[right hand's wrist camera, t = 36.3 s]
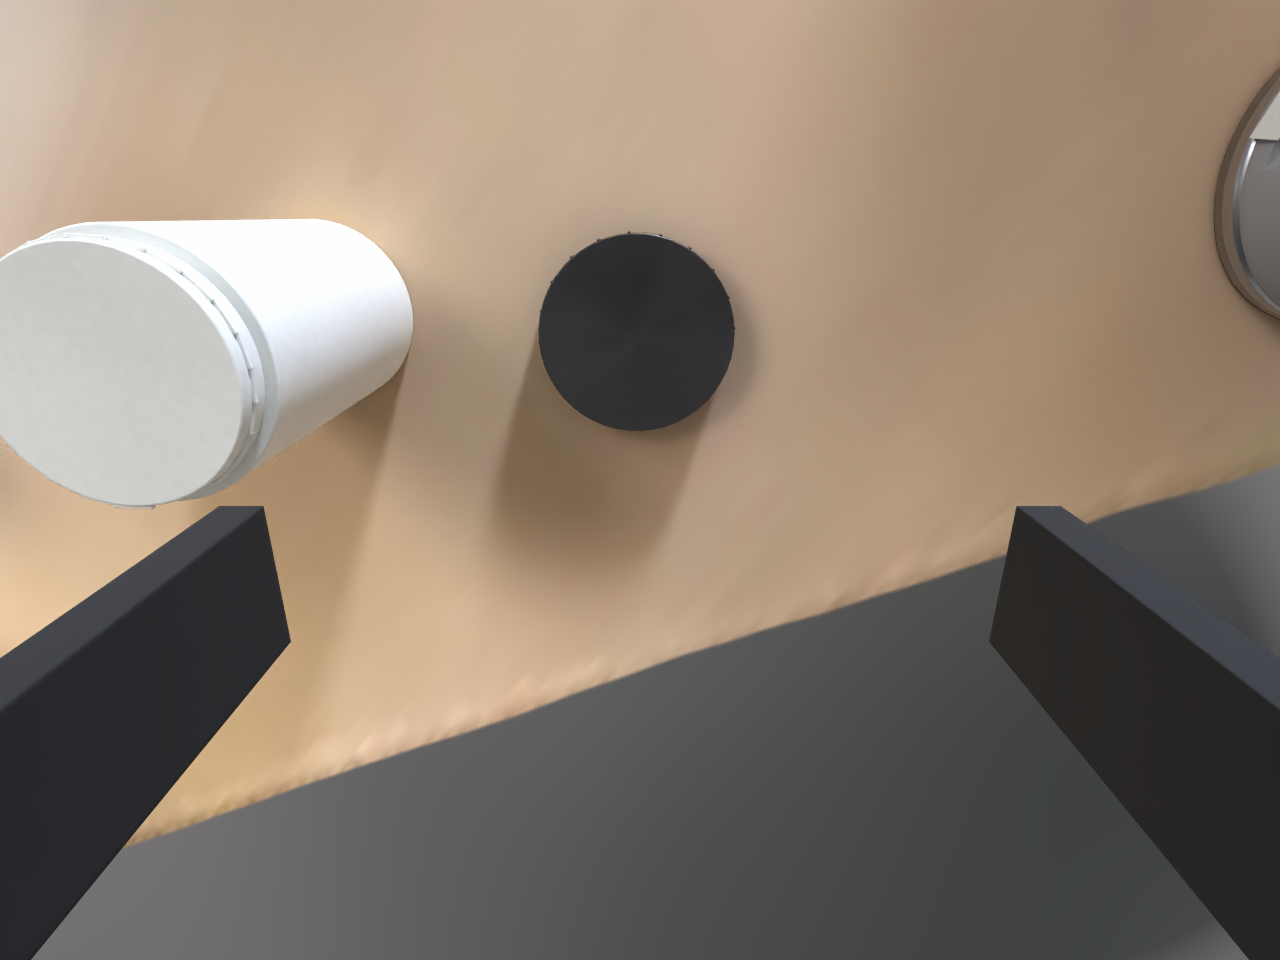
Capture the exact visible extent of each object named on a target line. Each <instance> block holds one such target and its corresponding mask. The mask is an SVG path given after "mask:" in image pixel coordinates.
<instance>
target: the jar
mask: <svg viewBox="0 0 1280 960" xmlns="http://www.w3.org/2000/svg"><path fill="white" fill-rule="evenodd" d="M412 333H413V313H412V305H411V301H410V297H409V294H408V291H407V289H406V286H405V283H404V281H403V279H402V278H401V276H400V274H399V272H398V270H397V269H396V267H395V266H394V264H393V263H392V262H391V260H390V259H389V258H388V257H387V256H386V254H385V253H384V252H383V251H382V250H381V249H380V248H379V247H377V246H376V245H375V244H374V243H373V242H372V241H370V240H369V239H368V238H366V237H365V236H363V235H362V234H360V233H358V232H356V231H355V230H353V229H351V228H349V227H346V226H344V225H341V224H338V223H334V222H331V221H326V220H319V219H279V220H206V221H132V222H87V223H80V224H74V225H69V226H66V227H63V228H60V229H57V230H54V231H51V232H50V233H48V234H46V235H44V236H42V237H40V238H38V239H36V240H33V241H27V242H26V243H24V244H23V245H21V246H19V247H18V248H16V249H15V250H13V251H12V252H10V253H9V254H7V255H6V256H4V257H2V258H1V259H0V436H1V437H2V438H3V439H4V441H5V442H6V443H7V444H8V445H9V446H10V447H11V448H12V449H13V450H14V451H15V452H16V453H17V455H19V456H20V457H21V458H22V459H24V460H25V461H26V462H27V463H28V464H29V465H31V466H32V467H33V468H35V469H36V470H37V471H39V472H40V473H42V474H43V475H44V476H46V477H47V478H48V480H50V481H52V482H54V483H56V484H58V485H60V486H62V487H64V488H66V489H68V490H70V491H72V492H74V493H76V494H78V495H80V496H81V497H82V498H86V499H90V500H94V501H97V502H101V503H105V504H108V505H112V506H116V508H140V509H154V508H155V505H160V504H166V503H170V502H174V501H184V500H191V499H198V498H201V497H205V496H209V495H212V494H215V493H217V492H219V491H222V490H224V489H226V488H228V487H230V486H231V485H233V484H235V483H236V482H238V481H239V480H241V479H242V478H244V477H245V476H247V475H248V474H250V473H251V472H253V471H254V470H256V469H257V468H259V467H261V466H262V465H264V464H265V463H267V462H268V461H270V460H271V459H273V458H274V457H276V456H277V455H279V454H280V453H282V452H283V451H285V450H286V449H288V448H289V447H291V446H292V445H294V444H295V443H297V442H298V441H300V440H301V439H303V438H304V437H306V436H307V435H309V434H310V433H312V432H313V431H315V430H316V429H318V428H319V427H321V426H322V425H324V424H325V423H327V422H328V421H330V420H331V419H333V418H334V417H336V416H337V415H339V414H340V413H342V412H343V411H345V410H346V409H348V408H349V407H351V406H352V405H354V404H355V403H357V402H358V401H360V400H361V399H363V398H364V397H366V396H367V395H369V394H370V393H372V392H373V391H375V390H377V389H378V388H380V387H381V386H383V385H384V384H385V383H386V382H387V381H389V380H390V379H391V378H392V377H393V376H394V375H395V373H396V372H397V371H398V370H399V368H400V367H401V365H402V364H403V362H404V360H405V358H406V356H407V353H408V351H409V348H410V344H411V340H412Z"/></svg>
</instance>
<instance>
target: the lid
mask: <svg viewBox="0 0 1280 960" xmlns="http://www.w3.org/2000/svg"><path fill="white" fill-rule="evenodd" d="M570 258H571V259H570V260H569V261H568V262H567V263H566V264H565V265H564V266H563V267H562V269H561V270H560V271H559V273H558V274H557V275H556V277H555V278H554V279H553V280H552V281H551V282H550V283H551V285H550V287H549V289H548V291H547V293H546V296H545V299H544V301H543V305H542V309H541V310H540V320H539V344H540V350H541V355H542V359H543V362H544V365H545V368H546V370H547V373H548V375H549V377H550V379H551V381H552V382H553V384H554V386H555V387H556V389H557V390H558V391H559V393H560V394H561V395H562V396H563V398H564V399H565V400H566V401H567V402H568V403H569V404H570V405H571V406H572V407H574V408H575V409H576V410H577V411H579V412H580V413H581V414H583V415H584V416H586V417H588V418H590V419H591V420H593V421H595V422H598V423H600V424H603V425H605V426H609V427H612V428H616V429H622V430H629V431H643V430H652V429H657V428H661V427H665V426H668V425H671V424H673V423H676V422H678V421H680V420H682V419H684V418H686V417H687V416H689V415H690V414H692V413H693V412H695V411H696V410H697V409H699V408H700V407H701V406H702V405H703V404H704V403H705V402H706V401H707V400H708V399H709V398H710V397H711V395H712V394H713V393H714V392H715V390H716V389H717V387H718V386H719V384H720V383H721V381H722V379H723V377H724V375H725V373H726V371H727V369H728V366H729V363H730V360H731V356H732V351H733V346H734V330H735V327H734V319H733V314H732V309H731V305H730V302H729V299H730V298H729V296H728V295H727V293H726V291H725V289H724V287H723V285H722V283H721V282H720V280H719V279H718V277H717V276H716V274H715V273H714V271H715V270H714V269H713V268H712V267H711V268H710V267H709V266H708V264H707V263H706V262H705V261H704V260H703V259H701V258H700V257H699V256H698V255H697V254H696V253H694V252H693V251H691V248H690V247H689V246H688V247H685V246H684V245H682V244H680V243H678V242H676V241H674V240H672V239H669V238H666V237H663V236H662V234H659V235H655V234H649V233H630V231H628V233H625V234H618V235H614V236H610V237H607V238H604V239H602V240H600V238H599V239H597V242H595V243H593V244H591V245H590V246H588V247H586V248H584V249H583V250H581V251H580V252H579V253H577V254H576V255H575V256H574V255H573V256H571V257H570Z"/></svg>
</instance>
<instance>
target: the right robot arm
mask: <svg viewBox="0 0 1280 960" xmlns="http://www.w3.org/2000/svg"><path fill="white" fill-rule="evenodd" d="M1214 230H1215V237H1216V244H1217V248H1218V252H1219V255H1220V258H1221V261H1222V263H1223V266H1224V268H1225V270H1226V272H1227V274H1228V276H1229V278H1230V280H1231V281H1232V282H1233V284H1234V285H1235V287H1236V288H1237V289H1238V291H1239V292H1240V293H1241V294H1242V295H1243V296H1244V297H1245V298H1246V299H1247V300H1248V301H1250V302H1251V303H1252V304H1253V305H1255V306H1256V307H1257V308H1259V309H1261V310H1262V311H1264V312H1265V313H1267V314H1270V315H1272V316H1274V317H1276V318H1279V319H1280V68H1279V69H1278V70H1277V71H1276V72H1275V73H1274V75H1273V76H1272V77H1271V78H1270V79H1269V80H1268V82H1267V83H1266V84H1265V85H1264V86H1263V88H1262V89H1261V91H1260V92H1259V93H1258V95H1257V96H1256V97H1255V99H1254V100H1253V102H1252V103H1251V105H1250V106H1249V108H1248V110H1247V111H1246V113H1245V114H1244V116H1243V118H1242V119H1241V121H1240V123H1239V125H1238V127H1237V129H1236V131H1235V133H1234V135H1233V137H1232V140H1231V142H1230V144H1229V147H1228V149H1227V151H1226V154H1225V157H1224V160H1223V163H1222V166H1221V170H1220V174H1219V178H1218V182H1217V188H1216V194H1215V203H1214ZM290 642H291V640H290V635H289V630H288V625H287V620H286V615H285V610H284V605H283V600H282V596H281V591H280V586H279V581H278V576H277V571H276V566H275V561H274V556H273V551H272V546H271V541H270V536H269V531H268V526H267V521H266V517H265V512H264V507H263V506H219V507H218V508H216V509H215V510H213V511H212V512H210V513H209V514H208V515H206V516H205V517H203V518H202V519H200V520H199V521H197V522H196V523H195V524H193V525H192V526H190V527H189V528H187V529H186V530H184V531H183V532H182V533H180V534H179V535H177V536H176V537H174V538H173V539H172V540H170V541H169V542H167V543H166V544H164V545H163V546H161V547H160V548H159V549H157V550H156V551H154V552H153V553H151V554H150V555H148V556H147V557H146V558H144V559H143V560H141V561H140V562H138V563H137V564H135V565H134V566H133V567H131V568H130V569H128V570H127V571H125V572H124V573H122V574H121V575H120V576H118V577H117V578H115V579H114V580H112V581H111V582H110V583H108V584H107V585H105V586H104V587H102V588H101V589H99V590H98V591H97V592H95V593H94V594H92V595H91V596H89V597H88V598H86V599H85V600H84V601H82V602H81V603H79V604H78V605H76V606H75V607H73V608H72V609H71V610H69V611H68V612H66V613H65V614H63V615H62V616H60V617H59V618H58V619H56V620H55V621H53V622H52V623H50V624H49V625H48V626H46V627H45V628H43V629H42V630H40V631H39V632H37V633H36V634H35V635H33V636H32V637H30V638H29V639H27V640H26V641H24V642H23V643H22V644H20V645H19V646H17V647H16V648H14V649H13V650H11V651H10V652H9V653H7V654H6V655H4V656H3V657H1V658H0V960H31V959H32V958H33V956H34V955H35V954H36V953H37V952H38V950H39V949H40V948H41V947H42V945H43V944H44V943H45V942H46V941H47V939H48V938H49V937H50V936H51V934H52V933H53V932H54V931H55V929H56V928H57V927H58V926H59V925H60V923H61V922H62V921H63V920H64V919H65V917H66V916H67V915H68V914H69V912H70V911H71V910H72V909H73V908H74V906H75V905H76V904H77V903H78V901H79V900H80V899H81V898H82V896H83V895H84V894H85V893H86V892H87V890H88V889H89V888H90V887H91V886H92V884H93V883H94V882H95V881H96V879H97V878H98V877H99V876H100V874H101V873H102V872H103V871H104V870H105V868H106V867H107V866H108V865H109V863H110V862H111V861H112V860H113V859H114V857H115V856H116V855H117V854H118V852H119V851H120V850H121V849H122V848H123V846H124V845H125V844H126V843H127V841H128V840H129V839H130V838H131V837H132V835H133V834H134V833H135V832H136V830H137V829H138V828H139V827H140V826H141V824H142V823H143V822H144V821H145V819H146V818H147V817H148V816H149V815H150V813H151V812H152V811H153V810H154V808H155V807H156V806H157V805H158V804H159V802H160V801H161V800H162V799H163V797H164V796H165V795H166V794H167V793H168V791H169V790H170V789H171V788H172V786H173V785H174V784H175V783H176V782H177V780H178V779H179V778H180V777H181V775H182V774H183V773H184V772H185V771H186V769H187V768H188V767H189V766H190V764H191V763H192V762H193V761H194V760H195V758H196V757H197V756H198V755H199V753H200V752H201V751H202V750H203V749H204V747H205V746H206V745H207V744H208V742H209V741H210V740H211V739H212V738H213V736H214V735H215V734H216V733H217V731H218V730H219V729H220V728H221V726H222V725H223V724H224V723H225V722H226V720H227V719H228V718H229V717H230V715H231V714H232V713H233V712H234V711H235V709H236V708H237V707H238V706H239V704H240V703H241V702H242V701H243V700H244V698H245V697H246V696H247V695H248V693H249V692H250V691H251V690H252V689H253V687H254V686H255V685H256V684H257V682H258V681H259V680H260V679H261V678H262V676H263V675H264V674H265V673H266V671H267V670H268V669H269V668H270V667H271V665H272V664H273V663H274V662H275V660H276V659H277V658H278V657H279V656H280V654H281V653H282V652H283V651H284V649H285V648H286V647H287V646H288V645H289V643H290ZM989 642H990V643H991V645H992V646H993V647H994V648H995V649H996V651H997V652H998V653H999V654H1000V656H1001V657H1002V658H1003V659H1004V660H1005V662H1006V663H1007V664H1008V665H1009V667H1010V668H1011V669H1012V670H1013V671H1014V673H1015V674H1016V675H1017V676H1018V678H1019V679H1020V680H1021V681H1022V682H1023V684H1024V685H1025V686H1026V687H1027V689H1028V690H1029V691H1030V692H1031V693H1032V695H1033V696H1034V697H1035V698H1036V700H1037V701H1038V702H1039V703H1040V704H1041V706H1042V707H1043V708H1044V709H1045V711H1046V712H1047V713H1048V714H1049V715H1050V717H1051V718H1052V719H1053V720H1054V722H1055V723H1056V724H1057V725H1058V726H1059V728H1060V729H1061V730H1062V731H1063V733H1064V734H1065V735H1066V736H1067V738H1068V739H1069V740H1070V741H1071V742H1072V744H1073V745H1074V746H1075V747H1076V748H1077V750H1078V751H1079V752H1080V753H1081V755H1082V756H1083V757H1084V758H1085V759H1086V761H1087V762H1088V763H1089V764H1090V766H1091V767H1092V768H1093V769H1094V771H1095V772H1096V773H1097V774H1098V775H1099V777H1100V778H1101V779H1102V780H1103V782H1104V783H1105V784H1106V785H1107V786H1108V788H1109V789H1110V790H1111V791H1112V793H1113V794H1114V795H1115V796H1116V797H1117V799H1118V800H1119V801H1120V802H1121V803H1122V805H1123V806H1124V807H1125V808H1126V810H1127V811H1128V812H1129V813H1130V815H1131V816H1132V817H1133V818H1134V819H1135V821H1136V822H1137V823H1138V824H1139V826H1140V827H1141V828H1142V829H1143V830H1144V832H1145V833H1146V834H1147V835H1148V837H1149V838H1150V839H1151V840H1152V841H1153V843H1154V844H1155V845H1156V846H1157V848H1158V849H1159V850H1160V851H1161V852H1162V854H1163V855H1164V856H1165V857H1166V859H1167V860H1168V861H1169V862H1170V863H1171V865H1172V866H1173V867H1174V868H1175V870H1176V871H1177V872H1178V873H1179V874H1180V876H1181V877H1182V878H1183V879H1184V881H1185V882H1186V883H1187V884H1188V885H1189V887H1190V888H1191V889H1192V890H1193V892H1194V893H1195V894H1196V895H1197V897H1198V898H1199V899H1200V900H1201V901H1202V903H1203V904H1204V905H1205V906H1206V908H1207V909H1208V910H1209V911H1210V912H1211V914H1212V915H1213V916H1214V917H1215V919H1216V920H1217V921H1218V922H1219V923H1220V925H1221V926H1222V927H1223V928H1224V930H1225V931H1226V932H1227V933H1228V934H1229V936H1230V937H1231V938H1232V939H1233V941H1234V942H1235V943H1236V944H1237V945H1238V947H1239V948H1240V949H1241V950H1242V952H1243V953H1244V954H1245V955H1246V956H1247V958H1248V959H1249V960H1280V657H1279V656H1277V655H1275V654H1273V653H1271V652H1270V651H1269V650H1267V649H1266V648H1264V647H1263V646H1261V645H1260V644H1258V643H1257V642H1256V641H1254V640H1253V639H1251V638H1250V637H1248V636H1247V635H1245V634H1244V633H1243V632H1241V631H1240V630H1238V629H1237V628H1235V627H1234V626H1232V625H1231V624H1230V623H1228V622H1227V621H1225V620H1224V619H1222V618H1221V617H1220V616H1218V615H1217V614H1215V613H1214V612H1212V611H1211V610H1209V609H1208V608H1207V607H1205V606H1204V605H1202V604H1201V603H1199V602H1198V601H1196V600H1195V599H1193V598H1192V597H1191V596H1189V595H1188V594H1186V593H1185V592H1183V591H1182V590H1181V589H1179V588H1178V587H1176V586H1175V585H1173V584H1172V583H1170V582H1169V581H1168V580H1166V579H1165V578H1163V577H1162V576H1160V575H1159V574H1157V573H1156V572H1155V571H1153V570H1152V569H1150V568H1149V567H1147V566H1146V565H1144V564H1143V563H1142V562H1140V561H1139V560H1137V559H1136V558H1134V557H1133V556H1132V555H1130V554H1129V553H1127V552H1126V551H1124V550H1123V549H1121V548H1120V547H1118V546H1117V545H1116V544H1114V543H1113V542H1111V541H1110V540H1108V539H1107V538H1106V537H1104V536H1103V535H1101V534H1100V533H1098V532H1097V531H1095V530H1094V529H1093V528H1091V527H1090V526H1088V525H1087V524H1085V523H1084V522H1083V521H1081V520H1080V519H1078V518H1077V517H1075V516H1074V515H1072V514H1071V513H1070V512H1068V511H1067V510H1065V509H1064V508H1062V507H1061V506H1017V507H1016V512H1015V517H1014V521H1013V526H1012V531H1011V536H1010V541H1009V546H1008V551H1007V556H1006V561H1005V566H1004V571H1003V576H1002V581H1001V586H1000V591H999V596H998V600H997V605H996V611H995V615H994V620H993V625H992V630H991V635H990V640H989Z"/></svg>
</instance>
